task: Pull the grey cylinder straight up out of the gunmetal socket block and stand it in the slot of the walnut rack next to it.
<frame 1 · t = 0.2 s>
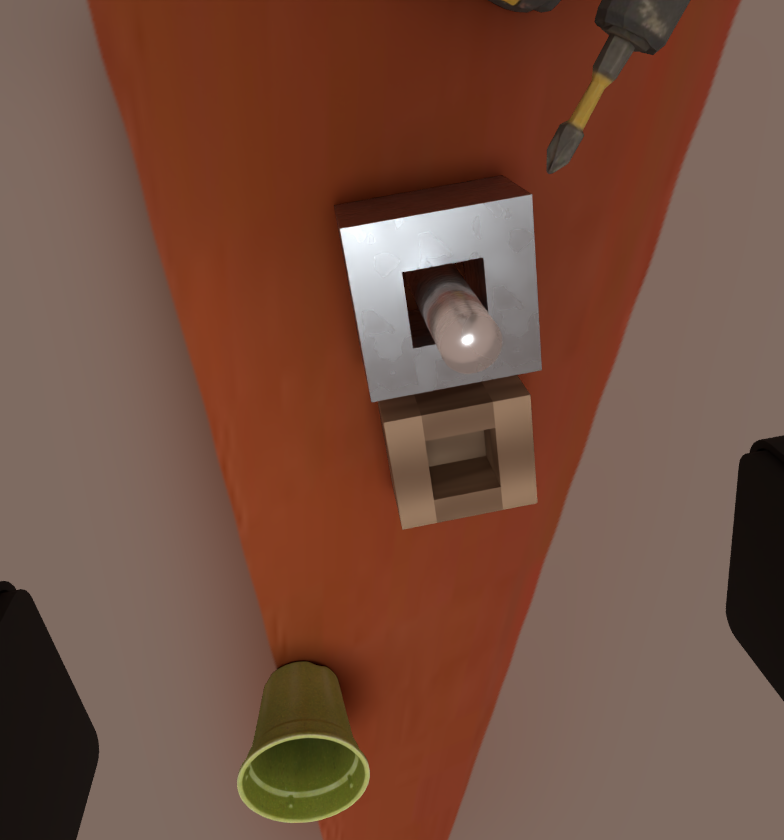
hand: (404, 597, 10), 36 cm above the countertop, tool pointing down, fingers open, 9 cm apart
plant pot: (302, 684, 60), on the countertop
rack: (448, 427, 50), on the countertop
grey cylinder: (428, 272, 45), resting in socket block
socket block: (429, 272, 45), on the countertop
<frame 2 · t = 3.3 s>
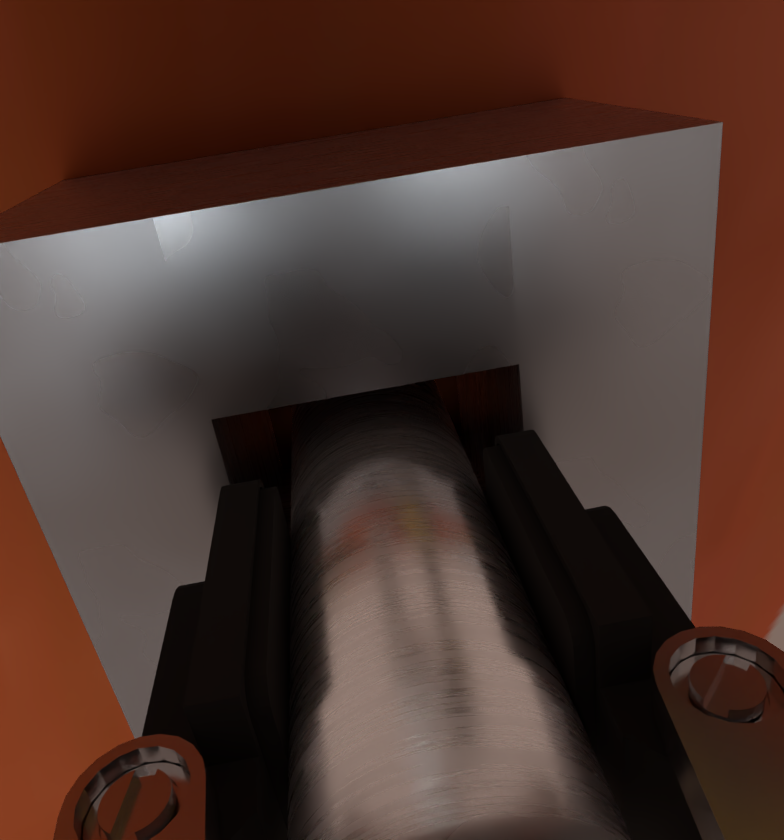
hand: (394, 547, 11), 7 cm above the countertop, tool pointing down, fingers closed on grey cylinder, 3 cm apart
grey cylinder: (358, 370, 17), resting in socket block, touching gripper
socket block: (358, 370, 17), on the countertop
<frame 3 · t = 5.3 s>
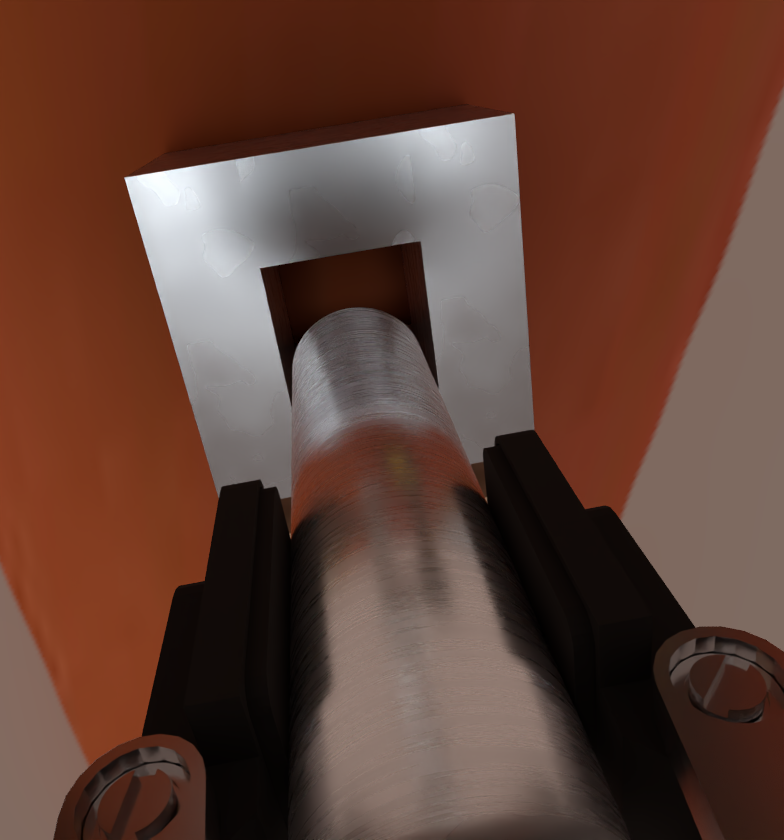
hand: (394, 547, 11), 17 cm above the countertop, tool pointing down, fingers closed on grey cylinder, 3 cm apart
rack: (387, 529, 31), on the countertop
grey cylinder: (358, 370, 17), point 10 cm above the countertop, touching gripper
socket block: (342, 277, 26), on the countertop
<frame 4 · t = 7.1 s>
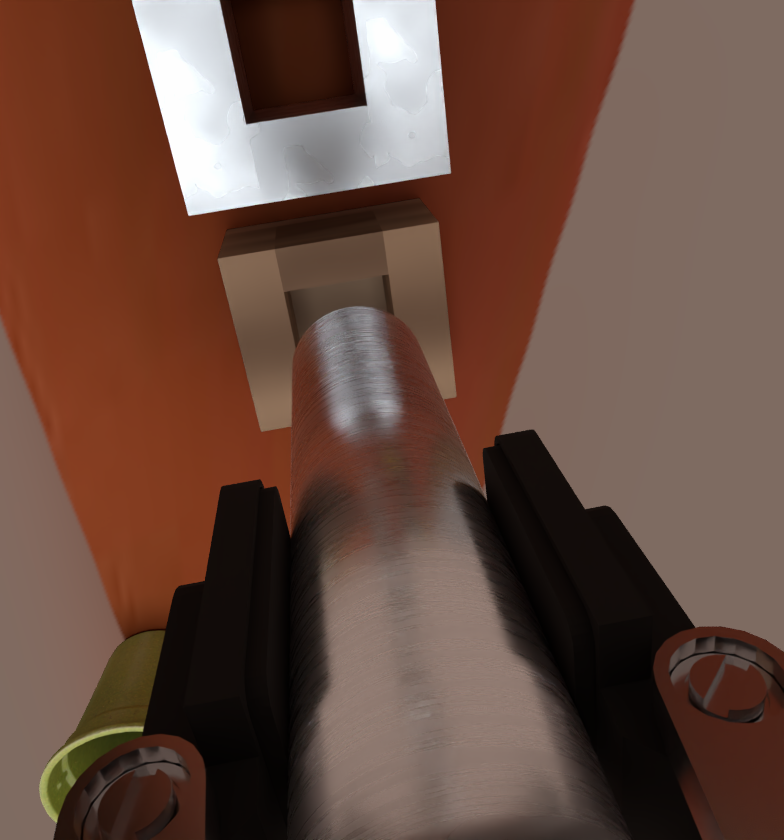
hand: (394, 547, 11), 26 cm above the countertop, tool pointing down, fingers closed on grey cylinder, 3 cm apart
plant pot: (163, 662, 45), on the countertop
rack: (338, 296, 36), on the countertop
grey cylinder: (358, 369, 17), point 19 cm above the countertop, touching gripper
socket block: (293, 45, 30), on the countertop
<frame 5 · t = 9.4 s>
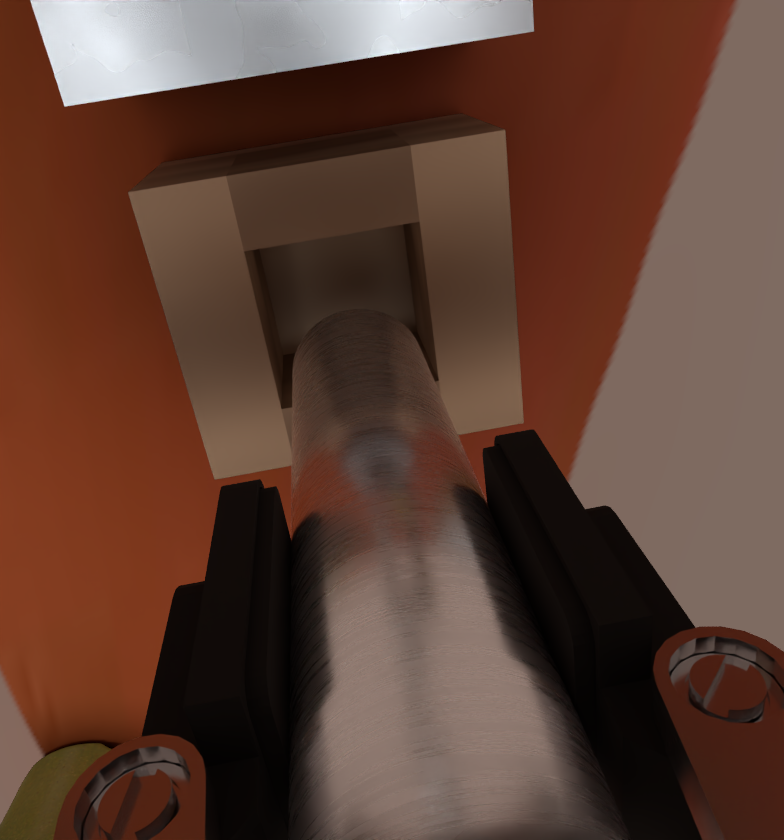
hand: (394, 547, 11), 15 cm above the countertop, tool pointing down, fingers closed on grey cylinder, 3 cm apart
plant pot: (100, 782, 33), on the countertop
rack: (336, 268, 23), on the countertop
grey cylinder: (358, 372, 17), point 8 cm above the countertop, touching gripper
when the fingers open (9 cm above the countertop, at t = 11.1 s): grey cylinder drops 1 cm, resting on rack.
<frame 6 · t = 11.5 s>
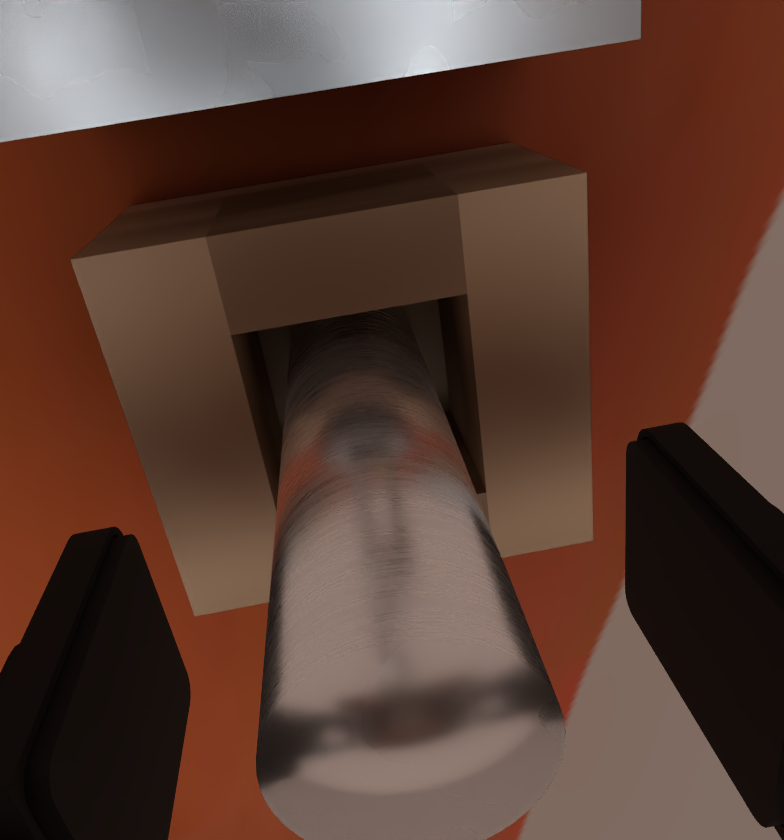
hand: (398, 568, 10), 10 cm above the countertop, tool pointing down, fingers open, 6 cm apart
rack: (351, 333, 19), on the countertop
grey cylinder: (352, 345, 18), point 1 cm above the countertop, touching rack
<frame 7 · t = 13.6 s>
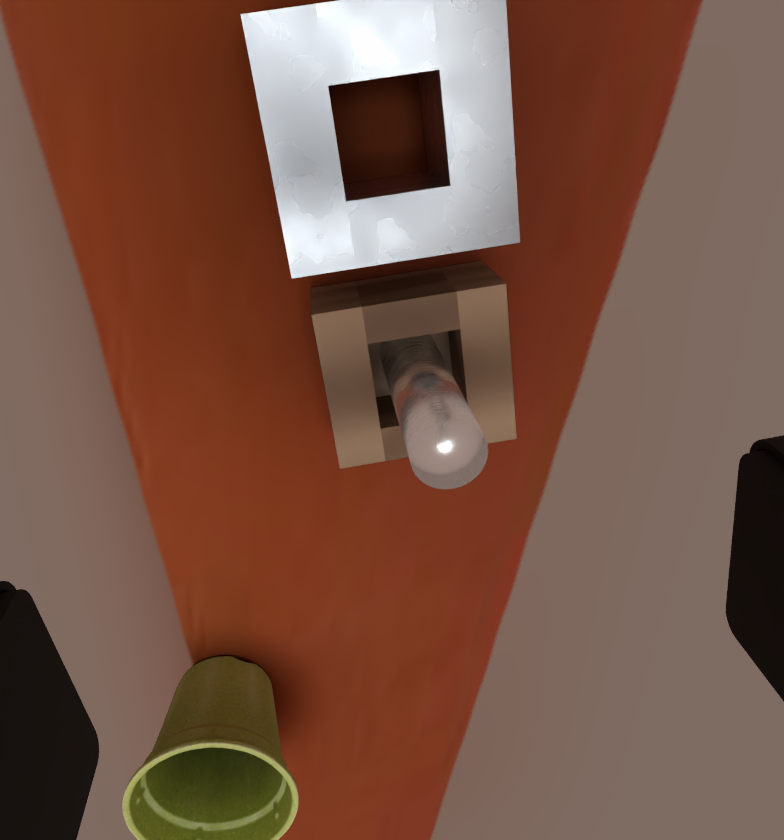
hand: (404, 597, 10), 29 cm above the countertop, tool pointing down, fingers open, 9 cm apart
plant pot: (227, 687, 48), on the countertop
rack: (406, 346, 39), on the countertop
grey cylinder: (407, 351, 38), point 1 cm above the countertop, touching rack
socket block: (377, 130, 35), on the countertop
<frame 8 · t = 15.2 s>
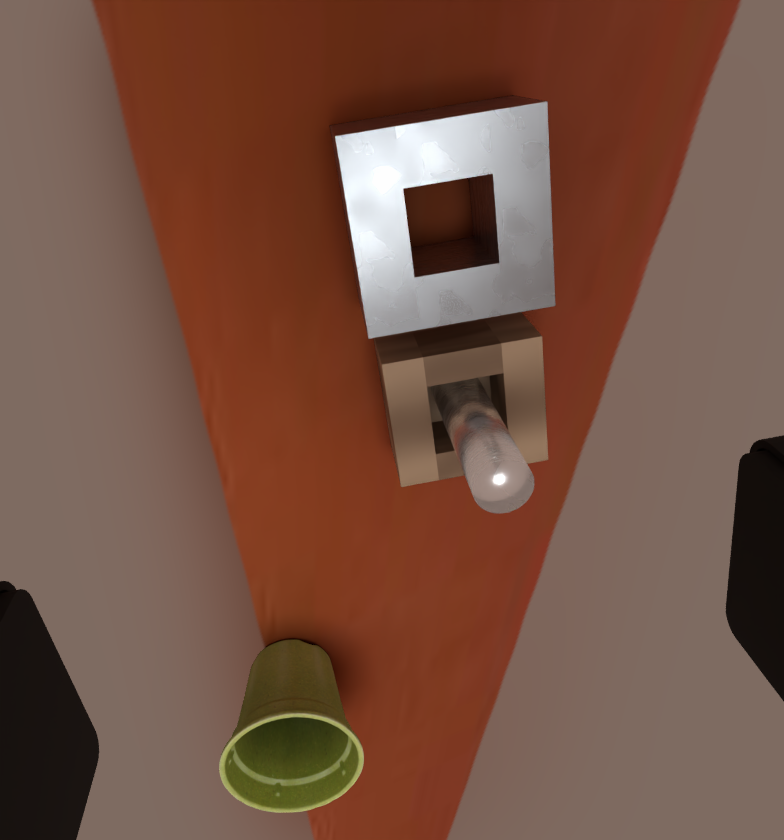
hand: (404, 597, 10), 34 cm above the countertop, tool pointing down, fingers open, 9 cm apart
plant pot: (292, 665, 56), on the countertop
rack: (452, 380, 46), on the countertop
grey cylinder: (454, 385, 45), point 1 cm above the countertop, touching rack
socket block: (432, 204, 41), on the countertop
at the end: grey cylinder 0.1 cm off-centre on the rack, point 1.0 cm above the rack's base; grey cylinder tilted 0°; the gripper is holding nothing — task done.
